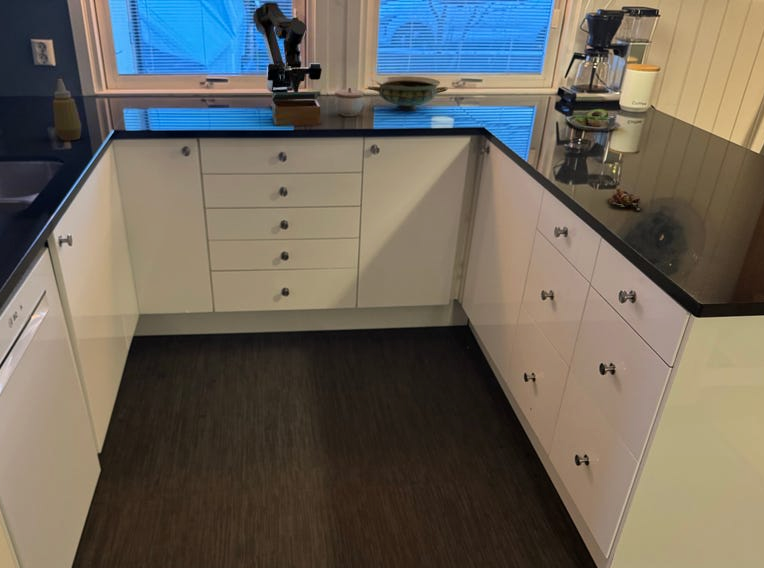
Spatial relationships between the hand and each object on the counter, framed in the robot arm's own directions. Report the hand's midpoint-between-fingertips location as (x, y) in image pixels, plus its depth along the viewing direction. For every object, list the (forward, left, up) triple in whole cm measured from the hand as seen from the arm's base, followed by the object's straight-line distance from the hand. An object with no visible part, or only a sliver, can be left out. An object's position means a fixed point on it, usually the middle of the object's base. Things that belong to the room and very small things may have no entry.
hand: (296, 93), depth 238 cm
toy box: (-2, 0, -10) cm, 10 cm away
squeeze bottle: (+14, -75, -10) cm, 77 cm away
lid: (-2, 0, -2) cm, 3 cm away
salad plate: (+17, +103, -10) cm, 105 cm away
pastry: (+96, +70, -10) cm, 119 cm away
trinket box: (-11, +21, -10) cm, 26 cm away
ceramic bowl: (-19, +45, -10) cm, 50 cm away
